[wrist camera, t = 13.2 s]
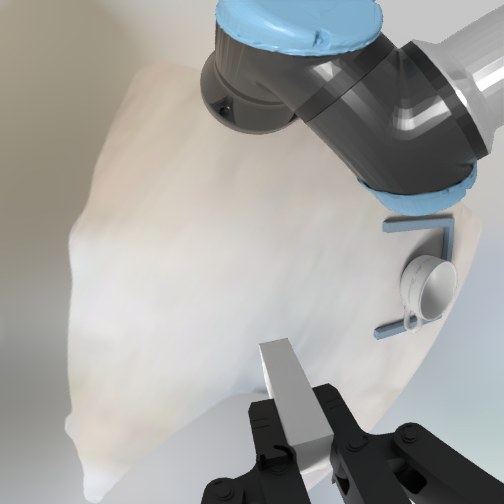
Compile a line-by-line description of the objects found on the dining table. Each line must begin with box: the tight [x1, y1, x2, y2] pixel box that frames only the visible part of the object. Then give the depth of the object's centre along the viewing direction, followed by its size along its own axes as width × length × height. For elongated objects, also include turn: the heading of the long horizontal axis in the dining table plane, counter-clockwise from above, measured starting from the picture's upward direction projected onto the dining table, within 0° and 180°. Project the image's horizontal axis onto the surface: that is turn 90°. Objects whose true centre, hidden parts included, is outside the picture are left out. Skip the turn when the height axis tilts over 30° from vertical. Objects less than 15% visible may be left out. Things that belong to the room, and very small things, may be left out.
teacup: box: [400, 255, 457, 333], centre depth 41 cm, size 14×11×8 cm
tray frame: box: [374, 217, 454, 340], centre depth 43 cm, size 22×18×2 cm
